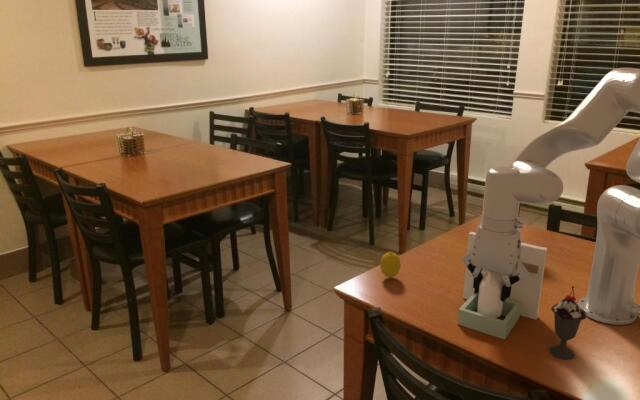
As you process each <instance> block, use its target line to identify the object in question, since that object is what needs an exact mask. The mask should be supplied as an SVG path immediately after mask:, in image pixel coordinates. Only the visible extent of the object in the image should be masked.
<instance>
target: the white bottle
mask: <svg viewBox="0 0 640 400" xmlns="http://www.w3.org/2000/svg"><path fill="white" fill-rule="evenodd" d="M504 283H505V282H504V279H503V277H502V275H501V274H500V273H497V272H493V271H489V270H488V273H487V274H486V275H485V276H484V277H483V279H482V280H481V282H480V284H479V297H478V308H477V313H480V314H484V315H487V316H490V317H493V318H497V319H498V318H499V317H501V316H502V315H501V314H502V307H503V302H502V301H501V294H502V287H503V285H504Z"/></svg>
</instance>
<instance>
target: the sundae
mask: <svg viewBox="0 0 640 400" xmlns="http://www.w3.org/2000/svg"><path fill="white" fill-rule="evenodd" d="M574 288H575V286H574V285H573V286H571V292H570V294H569V295H566V296H565V298H563V299H561V300H560V301H559V302H558V303H555V304H553V305H552V306H551V308H550V310H551V311H552V313H553V316H554V317H553V319H554V325H553V326H554V332H555V334H556V336H557V337H558V338H559V339H560V343H559V345H553V346H550V348H549V353H550V354H551V356H553V357H555V358H557V359H560V360H565V361H567V360H572V359H574V358H575V356H576V354H575V353H574V351H573V350H572V349H570V348H569V347H567V343H568V341H570V340H573V339H574V338H575V337H576V336H577V332H578V330H579V327H580V324H581V321H582V320H586V318H587V316H586V312H585V311H584V310H583V309H581V308H580V306H579V305H578V303H577V301H576V300H577V298H576V297H575V290H574ZM572 293H573V295H572ZM571 295H572V296H571Z"/></svg>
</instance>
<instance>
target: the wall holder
mask: <svg viewBox="0 0 640 400" xmlns="http://www.w3.org/2000/svg"><path fill="white" fill-rule="evenodd" d="M475 234H476V232H475V231H470V232H469V233H468V237H467V238H468V239H467V250H466V251H467V252H466V254H468V253H469V252H470V251H472V247H473V243H474V238H475ZM547 253H548V247H544V246H543V247H542V246H539V245H535V244H530V243H525V242H521V259H520V261H521V262H522V264H523V265H524V267H525V268H526V269H527V271H528V272H529V275H528V276H527V277H526V278H524V279H522V280H519V281H518V282H516V283H514V284H512V287H511V294H510V297H509V298H507V299H506V300H505V301H504V302H503V307H502V314H501V316H503V317H505V318H504V319H503V320H502V319H501V318H500V319H499V318H498V317H497V318H493V317H490V316H487V315H484V314H480V313H478V311H476V309H478V297H479V293H478V294H475V293H474V290H475V288H473V281H474V277H473V276H472V273H471V272H470V270H469V269H468V268H467V266H466V265H465V272H464V273H465V274H464V285H463V287H464V288H463V296H462V298H463V299H464V300H465V302H464V303H463V304H462V305H461V306H460V307H459V308H458V314H457V325H458V326H462V327H465V328H467V329H471V330H474V331H477V332H480V333H483V334H487V335H489V336H492V337H495V338H498V339H502V340H506V338H507V337H508V335H509V334H510V333H511V331H512V330H513V328H514V326H515V325H516V324H517V322H518V321H519V319H520V316H522V317H525V318H529V319H533V320H536V321H537V319H538V317H539V310H540V304H541V297H542V291H543V290H542V288H543V284H544V283H543V282H544V274H545V267H546V261H547V259H546V258H547ZM470 260H471V258H470ZM481 273H482V274H483V277H484V276H485V275H486V274H487V273H488V270H486V269H483V270H482V272H481ZM500 274H501V273H500ZM516 274H519V271H518V270H517V269H515V272H514V274H513V276H515V275H516ZM501 275H502V277H503V274H501ZM503 279H504V278H503Z"/></svg>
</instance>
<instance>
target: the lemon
mask: <svg viewBox="0 0 640 400" xmlns="http://www.w3.org/2000/svg"><path fill="white" fill-rule="evenodd" d="M400 259H401V258H400V257H399V255H398V254H397V253H395V252H393V251H392V250H391V251H388V252H385V253H384V254H383V256H382V257H381V259H380V264H379V265H380V272H381V273H382V274H383V275H384V276H385V277H387V278H389V279H392V278H393V277H396V276H398V274H399V272H400V270H401V266H402V265H401V260H400Z"/></svg>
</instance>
